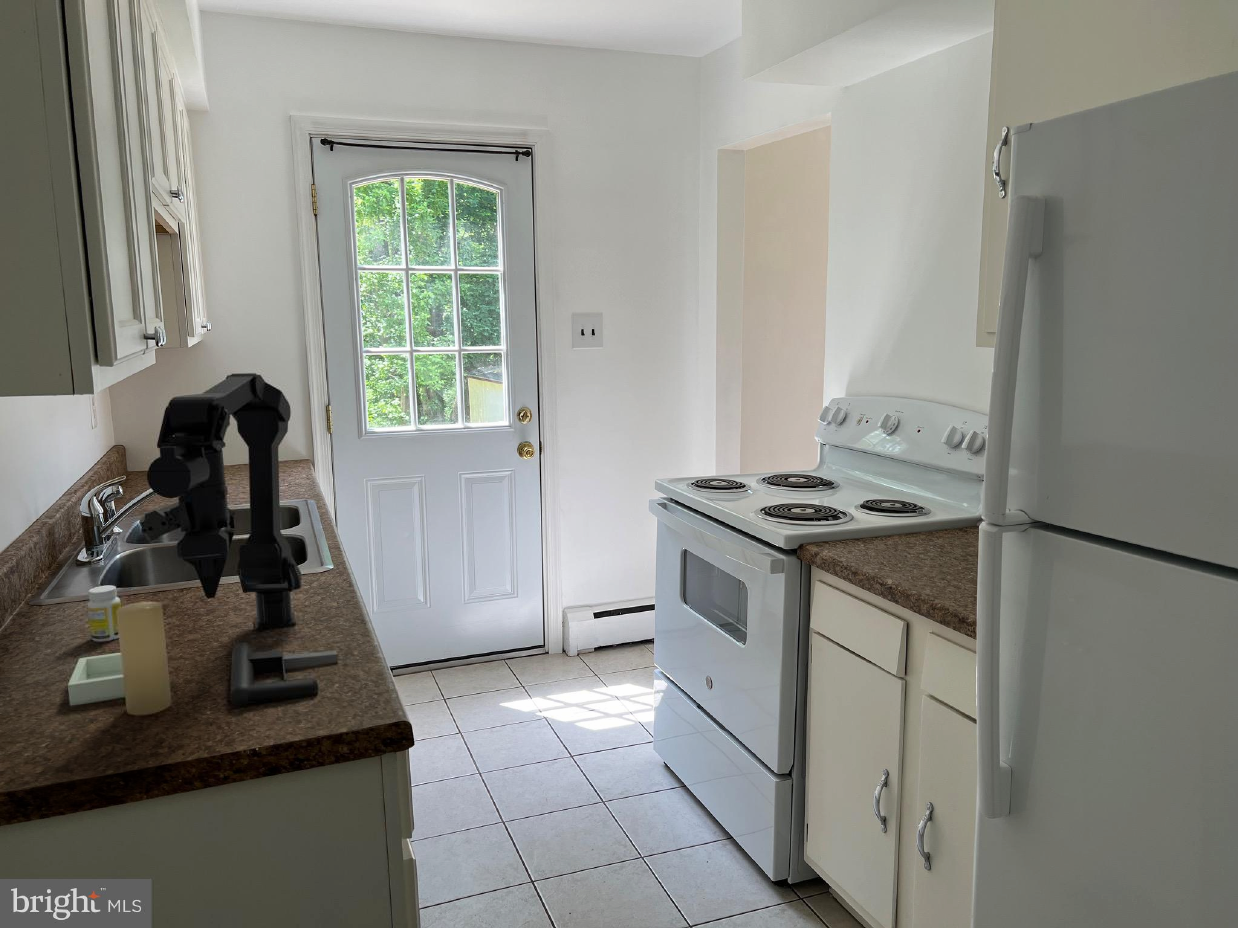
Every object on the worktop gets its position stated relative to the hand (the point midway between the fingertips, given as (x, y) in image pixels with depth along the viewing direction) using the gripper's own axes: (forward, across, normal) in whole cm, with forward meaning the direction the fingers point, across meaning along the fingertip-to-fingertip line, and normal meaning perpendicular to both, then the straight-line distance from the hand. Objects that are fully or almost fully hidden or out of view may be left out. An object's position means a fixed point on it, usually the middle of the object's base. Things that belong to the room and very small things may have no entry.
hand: (213, 588), depth 131 cm
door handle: (+14, +4, +9) cm, 17 cm away
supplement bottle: (+14, -25, -19) cm, 34 cm away
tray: (+13, -1, -14) cm, 19 cm away
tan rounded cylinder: (+13, +9, -8) cm, 18 cm away
